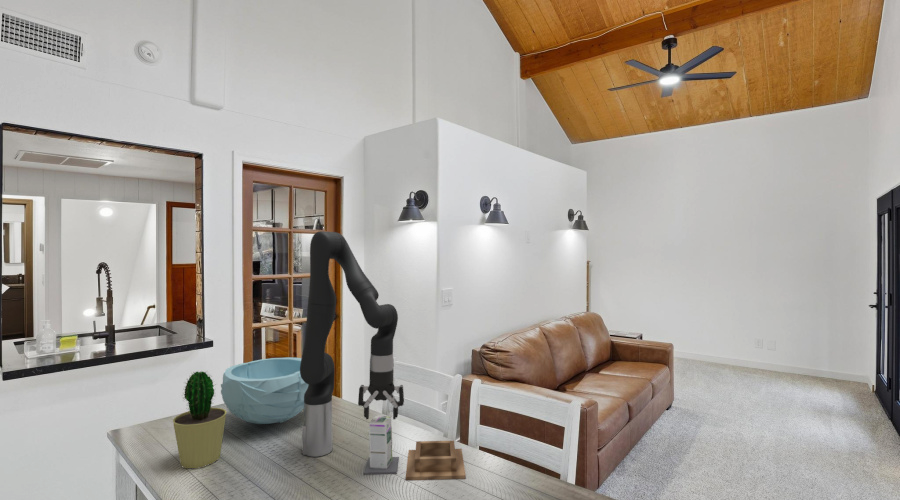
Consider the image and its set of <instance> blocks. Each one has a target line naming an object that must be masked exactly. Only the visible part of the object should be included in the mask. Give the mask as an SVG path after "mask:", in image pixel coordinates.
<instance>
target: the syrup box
mask: <svg viewBox="0 0 900 500" xmlns="http://www.w3.org/2000/svg"><path fill="white" fill-rule="evenodd" d="M392 429H393V428H392V417H391V416H387V415H375V416H374V417H373V418H372V419H371V420H370V422H369V423H368V435H369V436H368V441H369V444H368V445H369V457H370V467H371V468H378V469H387V468H388V466H389V465H390V463H391V462H392V457H393V437H392V436H393V435H392V434H393V433H392V432H393V431H392Z"/></svg>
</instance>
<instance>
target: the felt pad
mask: <svg viewBox="0 0 900 500" xmlns="http://www.w3.org/2000/svg"><path fill="white" fill-rule="evenodd" d="M399 460H400V457H399V456H392V462H391V463H390V465H389V466H388V468H387V469H378V468H371V467H370V456H369V457H368V458H367V461H366V465H365V468H364V471H363V475H397V473H398V467H399V462H400V461H399Z"/></svg>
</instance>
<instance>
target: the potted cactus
mask: <svg viewBox="0 0 900 500" xmlns="http://www.w3.org/2000/svg"><path fill="white" fill-rule="evenodd" d="M212 377H213V375H210V374H208V370H205V371H202V370H201V371H194V372H191V375H190V376H189V379H188V378H187V381H184V384H185V386H184V392H182V394H183V396H184V397H183V396H182V402H185V401H186V402H187V403H186V405H188V407H186V410H187V411H185V412H183V413H180V414H178V415H176V416H175V417H174V418H173V420H172V422H173V429H174V434H175V439H176V445H177V451H178V457H179V463H180V466H181V465H182V466H183V467H185V468H184V469H186V468H197V469H199V468H198V467H202V468H204V467H203V466H205V465H208V464H211V463H213V462H215V461H216V460H217V459H220V458H219V457H221V452H222V445H223V440H224V439H223V437H224V431H225V424H226V417H227V412H228V411H227V410H226V409H225V408H221V407H212V404H213V401H214V400H215V399H214V398H213V397H214V396H215V394H216V392H215V388H214V386H216V385H217V383H216V384H214V381H213V379H212ZM184 400H185V401H184ZM216 462H217V461H216ZM216 462H215V463H216ZM213 464H214V463H213ZM211 465H212V464H211ZM182 466H181V467H182ZM183 467H182V468H183Z"/></svg>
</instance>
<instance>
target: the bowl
mask: <svg viewBox="0 0 900 500" xmlns="http://www.w3.org/2000/svg"><path fill="white" fill-rule="evenodd" d="M301 359H302V357H291V356H290V357H270V358H263V359H258V360H257V359H256V360H253V361H248V362H243V363H238V364H235V365H232V366H230V367H227V368H226V369H225V371H224V372H223V375H222V383H221V384H220V388H221V389H220V394H221V397H222V400H223V402H224V405H225V406H226V408H227V410H228V411H229V412H230V413H231V414H233V415H234V416H235V417H237V418H238V419H241V420H242V421H244V422H246V423H251V424H256V425H265V424H266V425H269V424H277V423H281V424H282V423H284V422H287V421H288V420H290V419H292V418H293V417H296V416H297V415H298V414H300V413H301V412H302V411H304V394H305V392H306V390H307V388H308V385H309V384H307V383H305V382H304V381H303V379H302V378H301V375H300V364H301Z"/></svg>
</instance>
